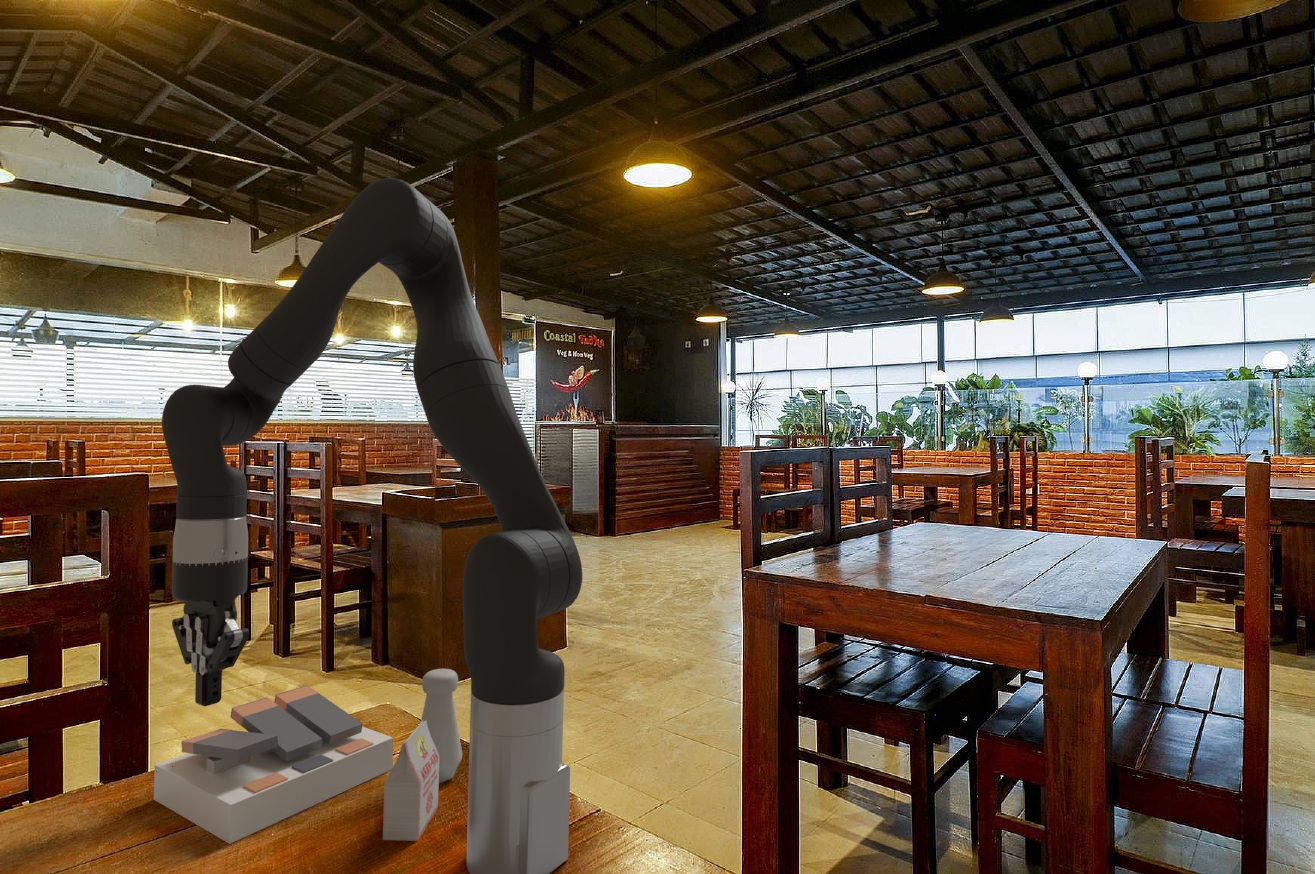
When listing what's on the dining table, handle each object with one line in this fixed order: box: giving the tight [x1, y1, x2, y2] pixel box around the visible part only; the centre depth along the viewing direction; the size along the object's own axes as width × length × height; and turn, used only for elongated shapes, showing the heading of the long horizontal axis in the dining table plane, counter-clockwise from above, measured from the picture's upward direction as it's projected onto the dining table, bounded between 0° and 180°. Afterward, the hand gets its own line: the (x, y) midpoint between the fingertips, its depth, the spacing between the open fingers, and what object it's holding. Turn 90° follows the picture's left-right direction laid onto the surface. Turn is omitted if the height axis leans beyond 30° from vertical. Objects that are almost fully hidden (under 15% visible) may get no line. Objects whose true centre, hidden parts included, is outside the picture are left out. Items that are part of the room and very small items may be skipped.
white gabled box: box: [382, 720, 440, 842], centre depth 78 cm, size 4×7×10 cm, turn 0°
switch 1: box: [181, 728, 278, 761], centre depth 82 cm, size 12×4×1 cm, turn 59°
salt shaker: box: [420, 668, 463, 784], centre depth 89 cm, size 6×6×13 cm
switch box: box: [153, 726, 394, 845], centre depth 86 cm, size 16×20×5 cm
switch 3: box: [273, 684, 363, 745], centre depth 91 cm, size 12×4×1 cm, turn 59°
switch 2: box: [230, 697, 323, 762], centre depth 86 cm, size 12×4×1 cm, turn 59°
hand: (208, 703), depth 84 cm, fingers closed
